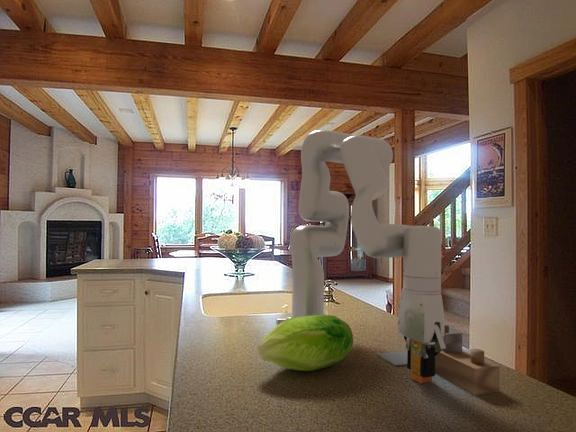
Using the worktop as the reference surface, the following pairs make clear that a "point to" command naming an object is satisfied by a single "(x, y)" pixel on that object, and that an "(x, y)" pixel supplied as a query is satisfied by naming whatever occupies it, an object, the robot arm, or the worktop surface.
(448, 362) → the brown wooden block shape
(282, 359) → the lettuce
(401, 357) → the mat
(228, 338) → the worktop surface
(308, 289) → the robot arm
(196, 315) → the worktop surface
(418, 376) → the supplement box
